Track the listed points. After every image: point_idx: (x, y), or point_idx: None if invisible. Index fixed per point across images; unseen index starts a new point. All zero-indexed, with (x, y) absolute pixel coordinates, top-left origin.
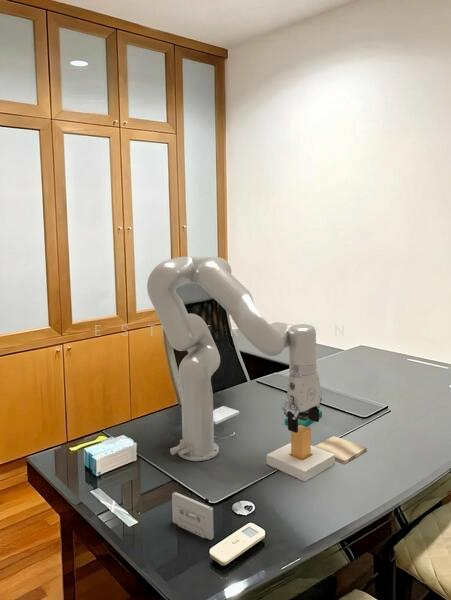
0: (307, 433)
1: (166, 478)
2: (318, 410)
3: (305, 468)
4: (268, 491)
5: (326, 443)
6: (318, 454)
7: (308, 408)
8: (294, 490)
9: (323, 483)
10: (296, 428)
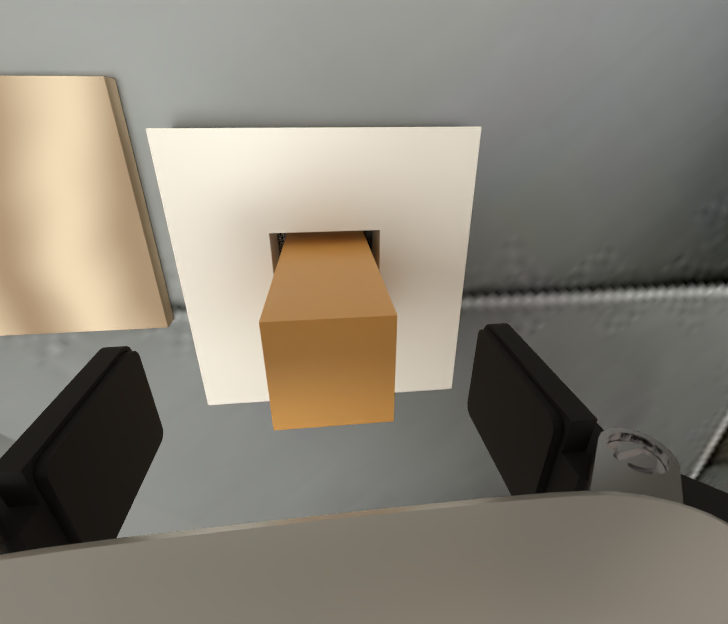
0: (316, 306)
1: (709, 479)
2: (17, 453)
3: (448, 150)
4: (634, 198)
5: (47, 307)
6: (241, 212)
7: (435, 520)
8: (565, 109)
9: (407, 27)
10: (524, 347)
